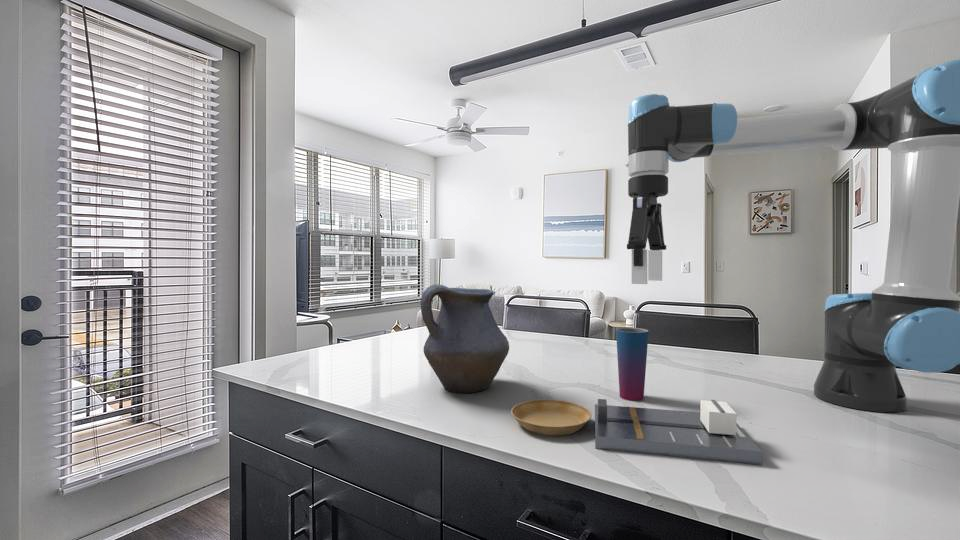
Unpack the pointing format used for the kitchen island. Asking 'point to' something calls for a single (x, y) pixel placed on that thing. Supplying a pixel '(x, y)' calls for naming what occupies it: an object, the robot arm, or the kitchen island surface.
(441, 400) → the kitchen island surface
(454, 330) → the pitcher
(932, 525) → the kitchen island surface
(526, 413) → the plant saucer
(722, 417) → the fader
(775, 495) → the kitchen island surface
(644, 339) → the cup
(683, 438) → the console
